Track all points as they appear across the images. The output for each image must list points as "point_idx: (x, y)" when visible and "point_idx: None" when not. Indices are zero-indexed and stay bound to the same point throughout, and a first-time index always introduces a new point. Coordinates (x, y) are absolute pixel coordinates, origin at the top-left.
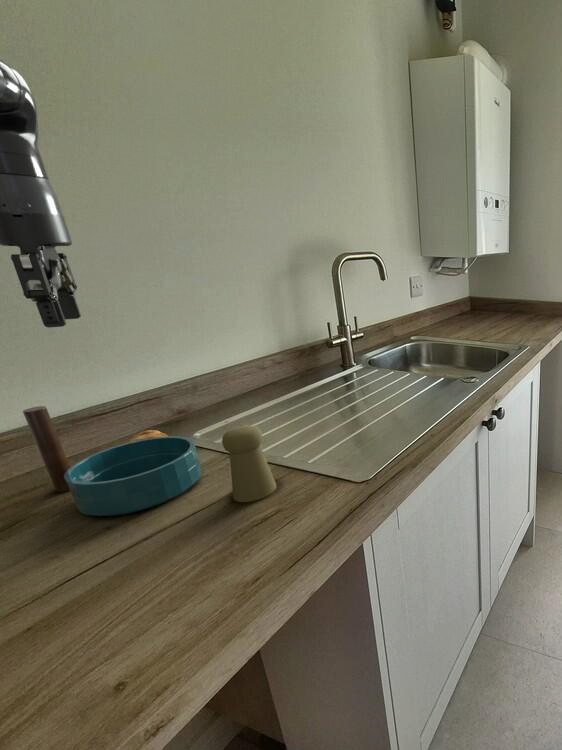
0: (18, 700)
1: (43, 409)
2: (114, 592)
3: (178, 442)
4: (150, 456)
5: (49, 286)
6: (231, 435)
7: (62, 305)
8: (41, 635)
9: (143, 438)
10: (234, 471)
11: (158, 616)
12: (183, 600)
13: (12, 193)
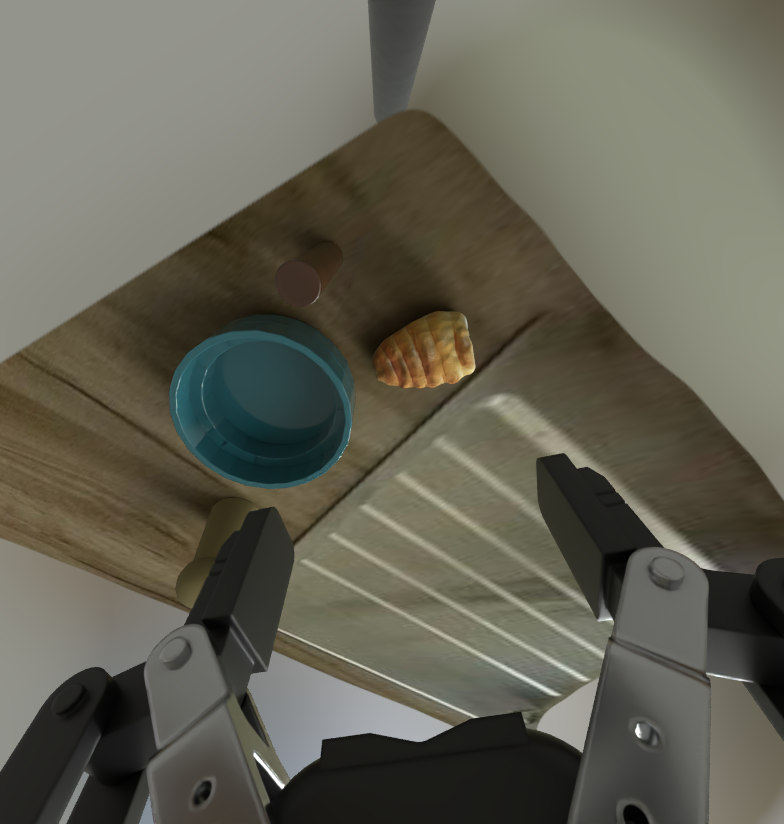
0: None
1: (295, 305)
2: (49, 437)
3: (335, 449)
4: (335, 398)
5: (139, 812)
6: (180, 591)
7: (570, 524)
8: None
9: (429, 360)
10: (202, 538)
11: (17, 483)
12: (37, 496)
13: None
